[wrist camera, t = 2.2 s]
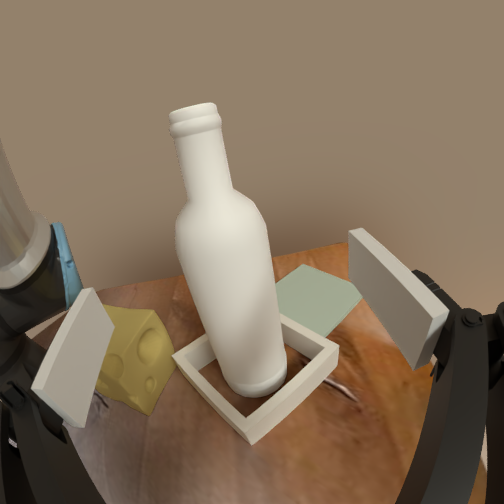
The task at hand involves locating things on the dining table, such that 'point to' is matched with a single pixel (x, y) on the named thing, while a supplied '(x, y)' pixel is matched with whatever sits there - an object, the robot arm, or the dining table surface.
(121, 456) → the dining table surface
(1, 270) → the robot arm
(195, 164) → the bottle
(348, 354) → the dining table surface
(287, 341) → the bottle holder
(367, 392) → the dining table surface
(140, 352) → the cheese
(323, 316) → the mat
